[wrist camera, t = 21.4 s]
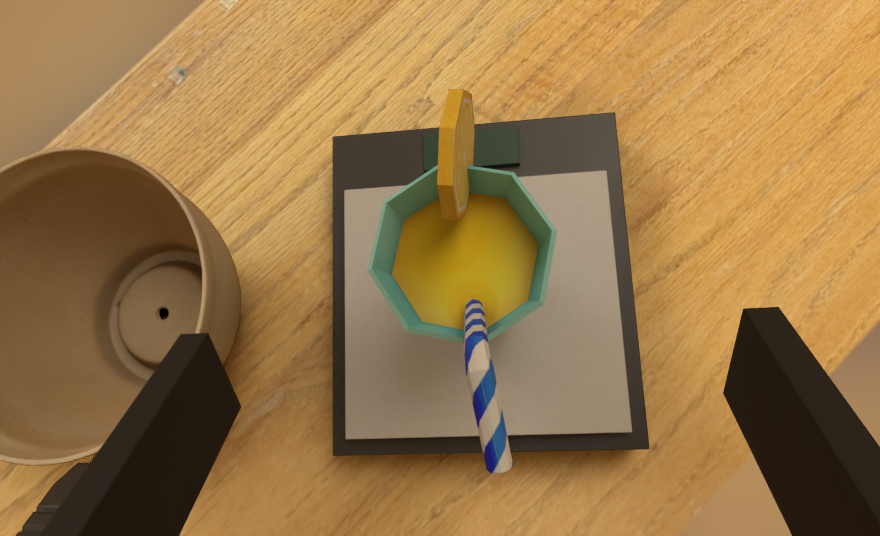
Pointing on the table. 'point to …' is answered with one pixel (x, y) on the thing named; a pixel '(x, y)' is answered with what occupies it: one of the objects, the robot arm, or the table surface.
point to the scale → (520, 346)
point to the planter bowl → (97, 295)
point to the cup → (465, 261)
